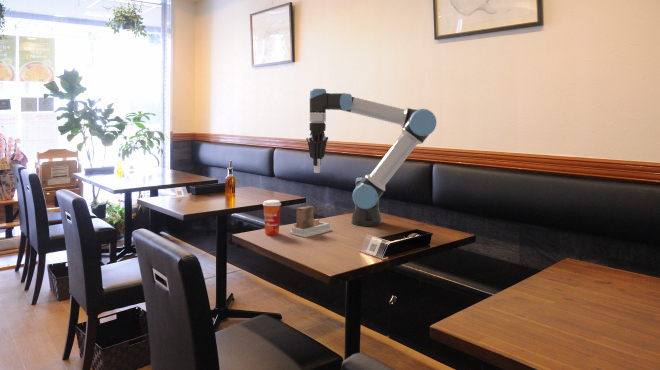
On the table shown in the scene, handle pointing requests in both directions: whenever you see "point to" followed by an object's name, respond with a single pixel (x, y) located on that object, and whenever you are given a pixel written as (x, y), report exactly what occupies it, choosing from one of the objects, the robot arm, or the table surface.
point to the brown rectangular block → (305, 217)
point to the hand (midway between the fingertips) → (317, 172)
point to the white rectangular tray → (311, 229)
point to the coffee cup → (272, 216)
